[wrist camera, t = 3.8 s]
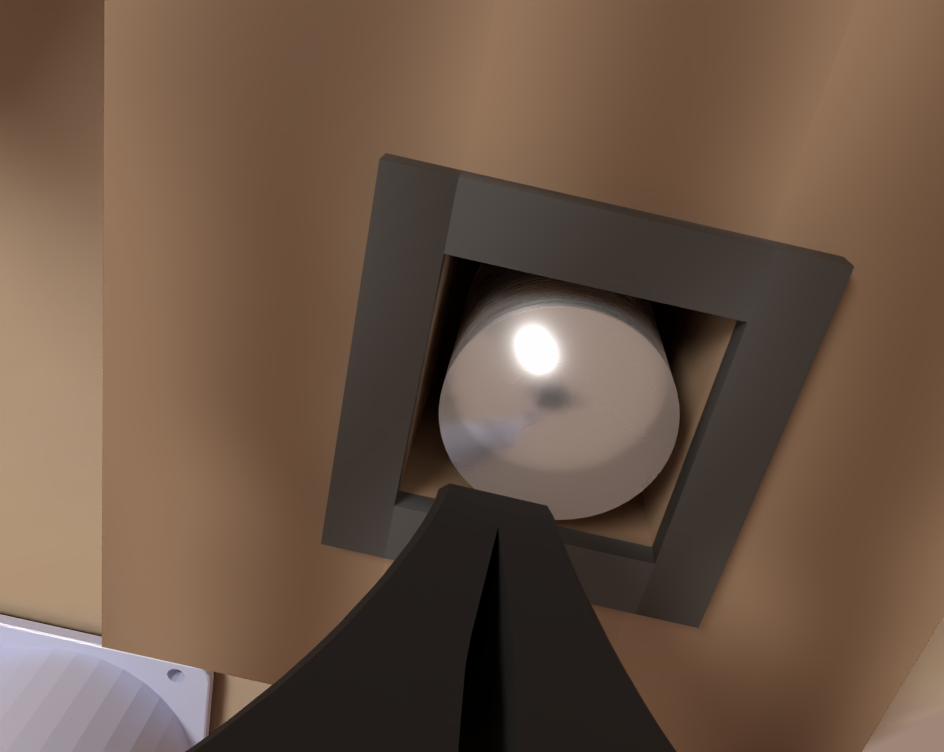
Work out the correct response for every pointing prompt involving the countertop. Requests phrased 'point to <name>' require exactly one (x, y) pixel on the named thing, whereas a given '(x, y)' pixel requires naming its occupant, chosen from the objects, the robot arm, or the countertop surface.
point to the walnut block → (551, 255)
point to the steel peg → (557, 393)
